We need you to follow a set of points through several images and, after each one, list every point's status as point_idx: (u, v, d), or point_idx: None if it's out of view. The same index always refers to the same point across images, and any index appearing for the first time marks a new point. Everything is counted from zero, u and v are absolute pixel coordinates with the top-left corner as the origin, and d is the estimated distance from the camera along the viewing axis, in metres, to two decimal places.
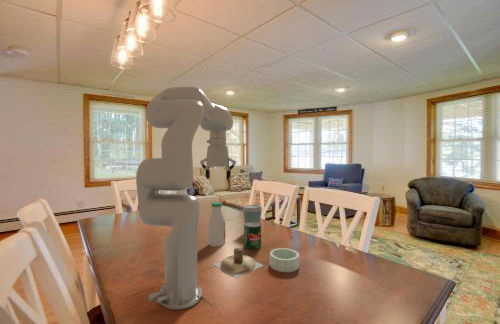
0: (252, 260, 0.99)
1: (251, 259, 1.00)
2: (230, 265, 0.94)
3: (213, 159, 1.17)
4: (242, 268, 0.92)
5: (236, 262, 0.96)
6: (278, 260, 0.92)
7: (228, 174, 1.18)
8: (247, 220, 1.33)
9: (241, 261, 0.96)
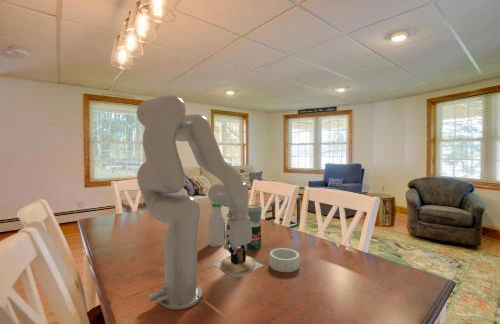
0: (252, 260, 0.99)
1: (251, 259, 1.00)
2: (230, 265, 0.94)
3: (240, 237, 0.94)
4: (242, 268, 0.92)
5: None
6: (278, 260, 0.92)
7: None
8: None
9: (241, 261, 0.96)
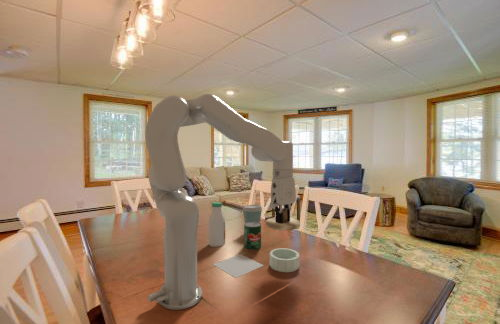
0: (296, 220, 0.98)
1: (294, 219, 0.99)
2: (276, 224, 0.94)
3: (286, 195, 0.93)
4: (289, 225, 0.91)
5: None
6: (278, 260, 0.92)
7: None
8: (247, 220, 1.33)
9: (286, 220, 0.96)
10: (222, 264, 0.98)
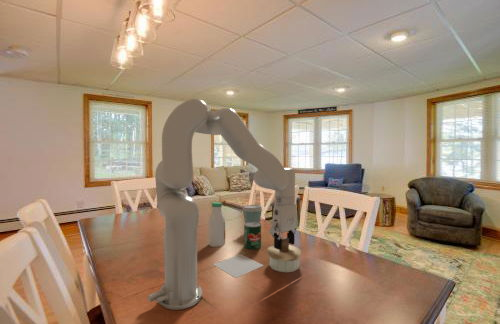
0: (297, 249, 0.98)
1: (296, 248, 0.99)
2: (277, 254, 0.94)
3: (287, 222, 0.94)
4: (290, 256, 0.92)
5: (282, 251, 0.96)
6: (278, 260, 0.92)
7: None
8: (247, 220, 1.33)
9: (287, 250, 0.96)
10: (222, 264, 0.98)
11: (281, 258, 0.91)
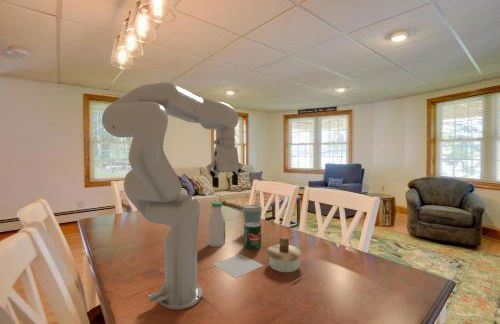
0: (297, 249, 0.98)
1: (296, 248, 0.99)
2: (277, 254, 0.94)
3: (226, 163, 0.98)
4: (290, 256, 0.92)
5: (282, 251, 0.96)
6: (278, 260, 0.92)
7: None
8: (247, 220, 1.33)
9: (287, 250, 0.96)
10: (222, 264, 0.98)
11: (281, 258, 0.91)
